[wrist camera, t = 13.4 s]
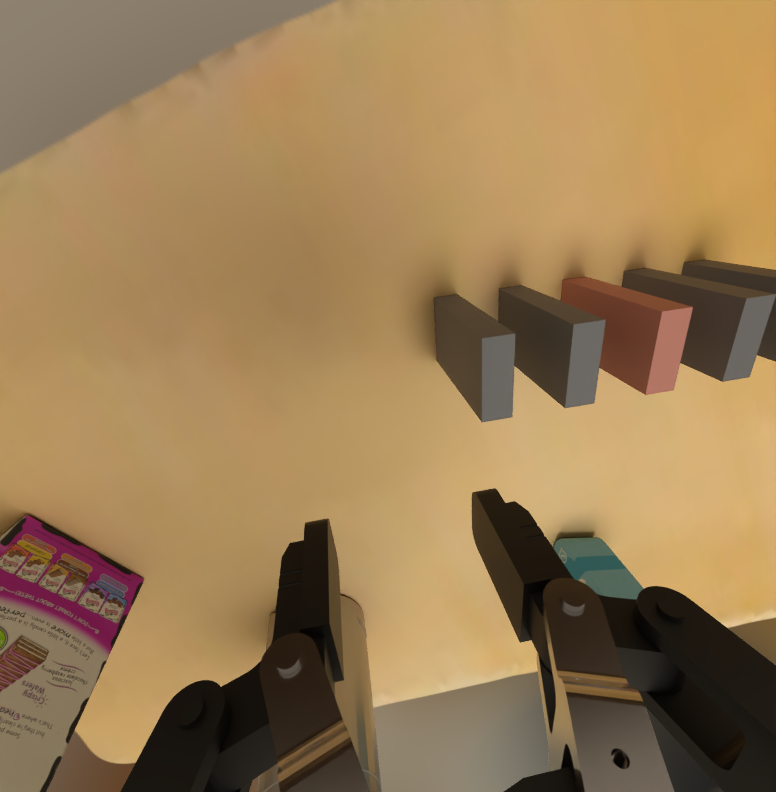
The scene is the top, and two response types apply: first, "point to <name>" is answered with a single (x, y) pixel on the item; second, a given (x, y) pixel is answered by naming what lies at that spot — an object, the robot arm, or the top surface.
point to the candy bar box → (51, 644)
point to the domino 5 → (761, 279)
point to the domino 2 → (554, 343)
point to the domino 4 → (712, 320)
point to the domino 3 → (634, 332)
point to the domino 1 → (476, 356)
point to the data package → (597, 567)
